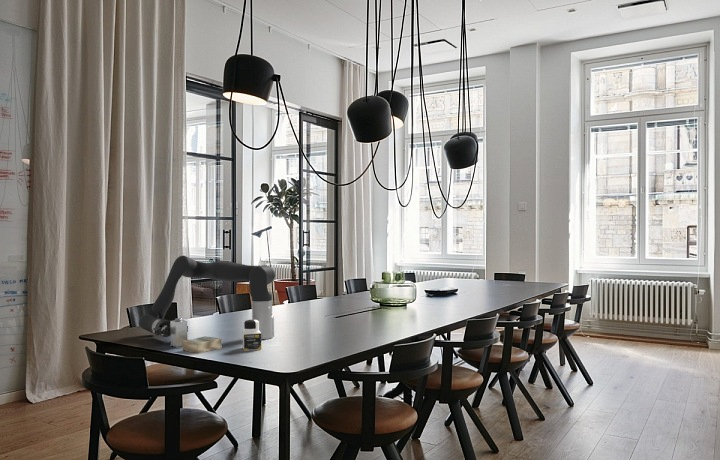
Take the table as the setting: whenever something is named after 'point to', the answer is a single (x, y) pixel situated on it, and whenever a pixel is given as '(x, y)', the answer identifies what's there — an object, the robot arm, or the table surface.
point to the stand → (202, 344)
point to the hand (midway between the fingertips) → (176, 331)
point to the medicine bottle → (251, 335)
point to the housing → (178, 332)
